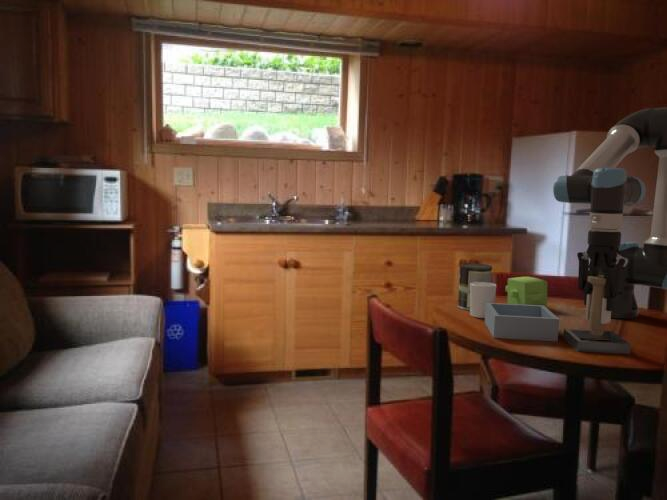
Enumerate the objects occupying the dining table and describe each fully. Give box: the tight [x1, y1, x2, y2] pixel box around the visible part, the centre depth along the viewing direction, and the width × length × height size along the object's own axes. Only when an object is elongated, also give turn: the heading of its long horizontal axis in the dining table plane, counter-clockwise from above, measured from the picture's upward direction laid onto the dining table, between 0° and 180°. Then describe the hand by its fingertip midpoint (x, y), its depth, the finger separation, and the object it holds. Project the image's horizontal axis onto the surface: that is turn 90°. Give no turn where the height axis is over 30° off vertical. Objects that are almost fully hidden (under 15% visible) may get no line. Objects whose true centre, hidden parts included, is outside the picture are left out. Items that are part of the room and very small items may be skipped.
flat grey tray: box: [562, 328, 632, 355], centre depth 146 cm, size 12×12×2 cm
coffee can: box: [457, 262, 493, 312], centre depth 185 cm, size 10×10×14 cm
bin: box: [484, 302, 560, 342], centre depth 157 cm, size 16×16×6 cm
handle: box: [588, 275, 606, 336], centre depth 145 cm, size 5×6×15 cm
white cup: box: [469, 282, 497, 319], centre depth 175 cm, size 8×8×10 cm
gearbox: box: [505, 276, 548, 309], centre depth 191 cm, size 18×10×10 cm, turn 15°
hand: (597, 320), depth 145 cm, fingers closed on handle, 4 cm apart
